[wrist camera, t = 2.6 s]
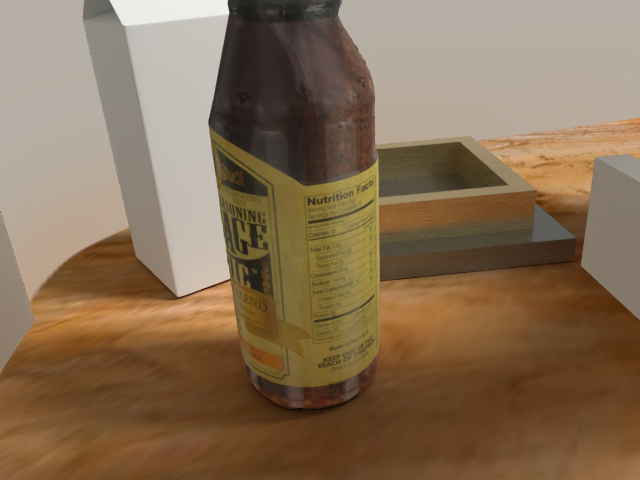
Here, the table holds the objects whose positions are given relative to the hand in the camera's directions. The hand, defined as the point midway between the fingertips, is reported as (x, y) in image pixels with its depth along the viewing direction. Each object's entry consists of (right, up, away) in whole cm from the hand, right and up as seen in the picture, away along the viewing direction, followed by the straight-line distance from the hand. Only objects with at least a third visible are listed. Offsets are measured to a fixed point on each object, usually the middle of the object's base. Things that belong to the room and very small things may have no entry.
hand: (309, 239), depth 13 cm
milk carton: (-7, -2, +25) cm, 26 cm away
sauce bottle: (0, -6, +14) cm, 15 cm away
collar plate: (+7, +1, +29) cm, 29 cm away
